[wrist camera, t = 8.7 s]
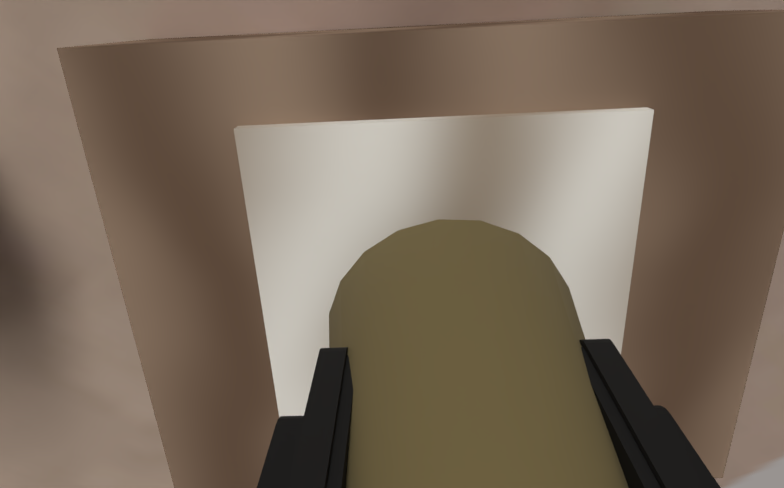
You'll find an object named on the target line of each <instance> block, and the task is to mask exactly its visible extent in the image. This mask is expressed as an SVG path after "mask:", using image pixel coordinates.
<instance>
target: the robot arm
mask: <svg viewBox="0 0 784 488" xmlns="http://www.w3.org/2000/svg"><path fill="white" fill-rule="evenodd" d="M579 341H580V344H581V345H582V346H583V347H581V350H582V353H583V357H584V361H585V364H586V368H587V372H588V375H589V379H590V383H591V386H592V388H593V391H594V394H595V396H596V399H597V402H598V405H599V407H600V410H601V413H602V416H603V418H604V421H605V424H606V427H607V429H608V432H609V435H610V438H611V440H612V443H613V446H614V449H615V451H616V454H617V457H618V459H619V462H620V465H621V468H622V470H623V473H624V476H625V479H626V481H627V484H628V487H629V488H720V486H719V485H718V483H717V482H716V480H715V479H714V477H713V476H712V474H711V473H710V472H709V470H708V469H707V467H706V466H705V464H704V463H703V461H702V460H701V458H700V457H699V455H698V454H697V452H696V451H695V449H694V448H693V446H692V445H691V443H690V442H689V440H688V439H687V438H686V436H685V435H684V433H683V432H682V430H681V429H680V427H679V426H678V424H677V423H676V421H675V420H674V418H673V417H672V415H671V414H670V413H669V411H668V410H667V409H666V408H665V407H663V406H661V405H653V404H652V402H651V401H650V399H649V398H648V396H647V394H646V393H645V391H644V390H643V388H642V387H641V385H640V384H639V382H638V381H637V379H636V377H635V376H634V374H633V373H632V371H631V370H630V368H629V367H628V365H627V364H626V362H625V360H624V359H623V357H622V356H621V354H620V353H619V351H618V350H617V348H616V347H615V345H614V344H613V342H612V341H611V340H610V339H582V340H579ZM347 352H348V347H338V348H321V349H320V351H319V354H318V358H317V363H316V367H315V371H314V375H313V379H312V384H311V388H310V392H309V396H308V400H307V404H306V409H305V413H304V416H280V417H279V418H278V420H277V423H276V425H275V429H274V432H273V435H272V439H271V442H270V445H269V449H268V452H267V455H266V459H265V462H264V465H263V468H262V472H261V475H260V478H259V482H258V485H257V488H346V474H347V462H348V449H349V437H350V424H351V412H352V399H353V384H352V377H351V370H350V362H349V357H348V355H347Z"/></svg>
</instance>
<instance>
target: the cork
mask: <svg viewBox="0 0 784 488" xmlns="http://www.w3.org/2000/svg"><path fill="white" fill-rule="evenodd" d="M582 339H585V337H584V333H583V330H582V327H581V324H580V321H579V318H578V315H577V311H576V308H575V305H574V302H573V299H572V296H571V292H570V289H569V287H568V285H567V283H566V282H565V280H564V279H563V277H562V276H561V274H560V272H559V271H558V269H557V268H556V266H555V265H554V263H553V261H552V260H551V258H550V257H549V256H548V255H546V254H545V253H544V252H543V251H541V250H540V249H539V248H537V247H536V246H535V245H533V244H532V243H531V242H529V241H528V240H527V239H526V238H524V237H523V236H522V235H520V234H519V233H516V232H513V231H510V230H507V229H504V228H501V227H498V226H495V225H492V224H489V223H487V222H484V221H481V220H445V219H438V220H434V221H430V222H427V223H423V224H419V225H416V226H412V227H408V228H405V229H401V230H398V231H396V232H395V233H393V234H391V235H390V236H388V237H387V238H385V239H384V240H382V241H380V242H379V243H377V244H376V245H374V246H373V247H371V248H369V249H368V250H366V251H365V252H364V253H363V254H362V255H361V256H360V258H359V259H358V260H357V261H356V262H355V264H354V265H353V266H352V267H351V269H350V270H349V271H348V272H347V274H346V275H345V276H344V277H343V278H342V280H341V281H340V284H339V286H338V289H337V292H336V295H335V298H334V301H333V304H332V306H331V309H330V312H329V348H338V347H348V352H347V355H348V357H349V362H350V370H351V377H352V384H353V399H352V412H351V424H350V437H349V449H348V462H347V474H346V488H629V487H628V484H627V481H626V479H625V476H624V473H623V470H622V468H621V465H620V462H619V459H618V457H617V454H616V451H615V449H614V446H613V443H612V440H611V438H610V435H609V432H608V429H607V427H606V424H605V421H604V418H603V416H602V413H601V410H600V407H599V405H598V402H597V399H596V396H595V394H594V391H593V388H592V386H591V383H590V379H589V375H588V372H587V368H586V364H585V361H584V357H583V353H582V350H581V347H583V346H582V345H581V344H580V341H579V340H582Z"/></svg>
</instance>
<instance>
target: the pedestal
mask: <svg viewBox="0 0 784 488" xmlns="http://www.w3.org/2000/svg"><path fill="white" fill-rule="evenodd" d="M57 51H58V54H59V58H60V62H61V66H62V69H63V73H64V77H65V81H66V84H67V88H68V92H69V96H70V99H71V103H72V107H73V110H74V114H75V118H76V122H77V125H78V129H79V133H80V137H81V140H82V144H83V148H84V152H85V155H86V159H87V163H88V167H89V170H90V174H91V178H92V181H93V185H94V189H95V193H96V196H97V200H98V204H99V208H100V211H101V215H102V219H103V223H104V226H105V230H106V234H107V238H108V241H109V245H110V249H111V252H112V256H113V260H114V264H115V267H116V271H117V275H118V279H119V282H120V286H121V290H122V294H123V297H124V301H125V305H126V309H127V312H128V316H129V320H130V324H131V327H132V331H133V335H134V338H135V342H136V346H137V350H138V353H139V357H140V361H141V365H142V368H143V372H144V376H145V380H146V383H147V387H148V391H149V395H150V398H151V402H152V406H153V409H154V413H155V417H156V421H157V424H158V428H159V432H160V436H161V439H162V443H163V447H164V451H165V454H166V458H167V462H168V466H169V469H170V473H171V477H172V481H173V484H174V488H257V485H258V482H259V478H260V475H261V472H262V468H263V465H264V462H265V459H266V455H267V452H268V449H269V445H270V442H271V439H272V435H273V432H274V429H275V425H276V423H277V420H278V418H279V417H280V416H304V413H305V409H306V404H307V400H308V396H309V392H310V388H311V384H312V379H313V375H314V371H315V367H316V363H317V358H318V354H319V351H320V349H321V348H329V312H330V309H331V306H332V304H333V301H334V298H335V295H336V292H337V289H338V286H339V284H340V281H341V280H342V278H343V277H344V276H345V275H346V274H347V272H348V271H349V270H350V269H351V267H352V266H353V265H354V264H355V262H356V261H357V260H358V259H359V258H360V256H361V255H362V254H363V253H364V252H365V251H366V250H368V249H369V248H371V247H373V246H374V245H376V244H377V243H379V242H380V241H382V240H384V239H385V238H387V237H388V236H390V235H391V234H393V233H395V232H396V231H398V230H401V229H405V228H408V227H412V226H416V225H419V224H423V223H427V222H430V221H434V220H438V219H445V220H481V221H484V222H487V223H489V224H492V225H495V226H498V227H501V228H504V229H507V230H510V231H513V232H516V233H519V234H520V235H522V236H523V237H524V238H526V239H527V240H528V241H529V242H531V243H532V244H533V245H535V246H536V247H537V248H539V249H540V250H541V251H543V252H544V253H545V254H546V255H548V256H549V257H550V258H551V260H552V261H553V263H554V265H555V266H556V268H557V269H558V271H559V272H560V274H561V276H562V277H563V279H564V280H565V282H566V283H567V285H568V287H569V289H570V292H571V296H572V299H573V302H574V305H575V308H576V311H577V315H578V318H579V321H580V324H581V327H582V330H583V333H584V337H585V339H610V340H611V341H612V342H613V344H614V345H615V347H616V348H617V350H618V351H619V353H620V354H621V356H622V357H623V359H624V360H625V362H626V364H627V365H628V367H629V368H630V370H631V371H632V373H633V374H634V376H635V377H636V379H637V381H638V382H639V384H640V385H641V387H642V388H643V390H644V391H645V393H646V394H647V396H648V398H649V399H650V401H651V402H652V404H653V405H661V406H663V407H665V408H666V409H667V410H668V411H669V413H670V414H671V415H672V417H673V418H674V420H675V421H676V423H677V424H678V426H679V427H680V429H681V430H682V432H683V433H684V435H685V436H686V438H687V439H688V440H689V442H690V443H691V445H692V446H693V448H694V449H695V451H696V452H697V454H698V455H699V457H700V458H701V460H702V461H703V463H704V464H705V466H706V467H707V469H708V470H709V472H710V473H711V474H712V476H713V477H714V478H723V474H724V470H725V466H726V462H727V458H728V454H729V450H730V446H731V442H732V438H733V434H734V430H735V425H736V421H737V417H738V413H739V409H740V405H741V401H742V397H743V393H744V389H745V385H746V381H747V377H748V373H749V369H750V365H751V361H752V356H753V352H754V348H755V344H756V340H757V336H758V332H759V328H760V324H761V320H762V316H763V312H764V308H765V304H766V300H767V296H768V292H769V287H770V283H771V279H772V275H773V271H774V267H775V263H776V259H777V255H778V251H779V247H780V243H781V239H782V235H783V231H784V10H739V11H705V12H685V13H665V14H645V15H625V16H605V17H585V18H566V19H546V20H526V21H506V22H486V23H466V24H446V25H427V26H407V27H387V28H367V29H347V30H327V31H307V32H288V33H268V34H248V35H228V36H208V37H188V38H168V39H148V40H137V41H127V42H117V43H106V44H96V45H85V46H75V47H65V48H57Z"/></svg>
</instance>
